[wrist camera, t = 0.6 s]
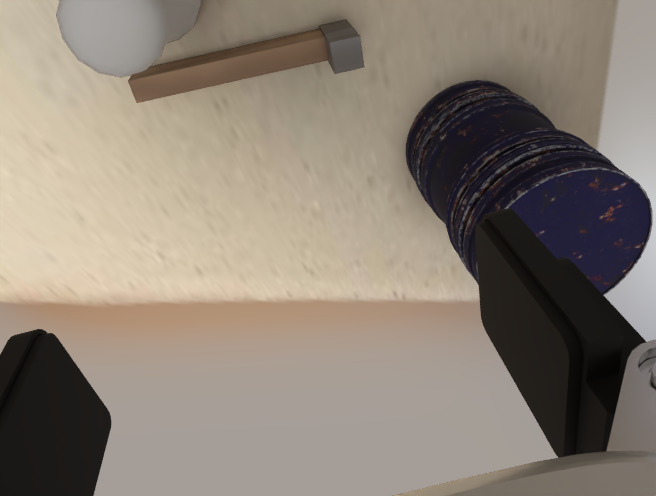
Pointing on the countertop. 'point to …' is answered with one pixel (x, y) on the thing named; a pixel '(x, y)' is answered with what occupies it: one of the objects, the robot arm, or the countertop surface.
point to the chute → (252, 61)
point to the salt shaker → (123, 31)
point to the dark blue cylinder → (525, 181)
